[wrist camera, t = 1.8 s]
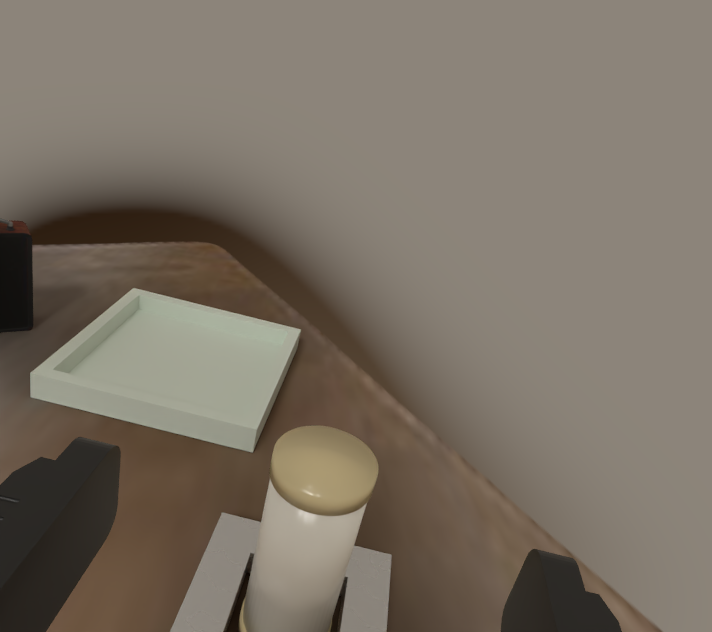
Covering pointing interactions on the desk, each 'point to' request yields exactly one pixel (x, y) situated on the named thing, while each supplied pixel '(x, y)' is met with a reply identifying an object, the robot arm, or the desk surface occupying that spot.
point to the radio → (15, 277)
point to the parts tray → (173, 368)
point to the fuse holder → (235, 558)
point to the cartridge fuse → (307, 529)
